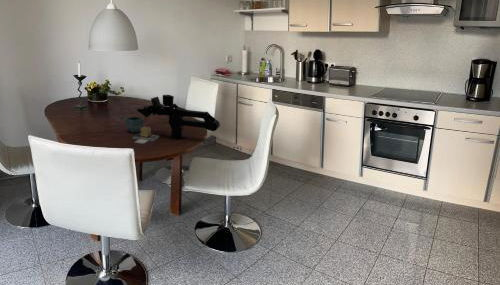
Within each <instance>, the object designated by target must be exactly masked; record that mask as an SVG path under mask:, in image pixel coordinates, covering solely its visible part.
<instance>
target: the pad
mask: <svg viewBox="0 0 500 285" xmlns="http://www.w3.org/2000/svg"><path fill="white" fill-rule="evenodd" d="M148 142H150V141H149V140H142V139H139V140H137V139H136V141H134V143H136V144H141V145H142V144H143V145H144V144H147V143H148Z"/></svg>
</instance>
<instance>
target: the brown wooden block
mask: <svg viewBox="0 0 500 285" xmlns="http://www.w3.org/2000/svg"><path fill="white" fill-rule="evenodd" d="M151 129H152V128H151V127H149V126H143V127H142V128H141V131H140V134H141V137H145V138H149V137H151V135H152V132H151V131H152V130H151Z"/></svg>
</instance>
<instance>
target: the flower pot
mask: <svg viewBox="0 0 500 285" xmlns="http://www.w3.org/2000/svg"><path fill="white" fill-rule="evenodd" d="M124 120H125V121H124V122H125V125H126V126H125V127H126V128H127V130H128V131H129V132H130V133H141V128H142V127H144V118H143V117H140V116H139V117H138V116H132V117H131V116H130V117H125V118H124Z"/></svg>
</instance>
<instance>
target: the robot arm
mask: <svg viewBox="0 0 500 285" xmlns="http://www.w3.org/2000/svg"><path fill="white" fill-rule="evenodd" d="M174 98H175V96H173V95H171V94H163V95H162V104H161V101H160V98H159V96H154V97H151V98H150V102H151V104H152V105H145V106H143V108H137V109H136V111H137V112H139V114H141V115H142V116H143V117H144V118H150V117H151V116H155V115H158V117H160V116H165V117H168V125H169V126H170V129H171V131H170V132H171V133H170V134H171V135H170V136H171V137H170V138H171V139H175V140H176V139H179V140H181V139H182V138H184V137H185V136H184V127H185V126H186V127H193V128H201V129H202V128H203V129H206V130H207V131H211V132H215V131H217V130H218V129H219V128H220V127H221V123H220V121H219V120H218V119H216V118H215V117H214V116H213V115H211V114H210V113H209V112H208V111H198V110H190V109H186V108H184V107H181V106H178V105H177V104H176V103H174ZM184 117H186V118H184ZM187 117H188V118H195V119H188V118H187ZM198 119H199V120H198ZM200 119H203V120H200Z"/></svg>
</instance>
